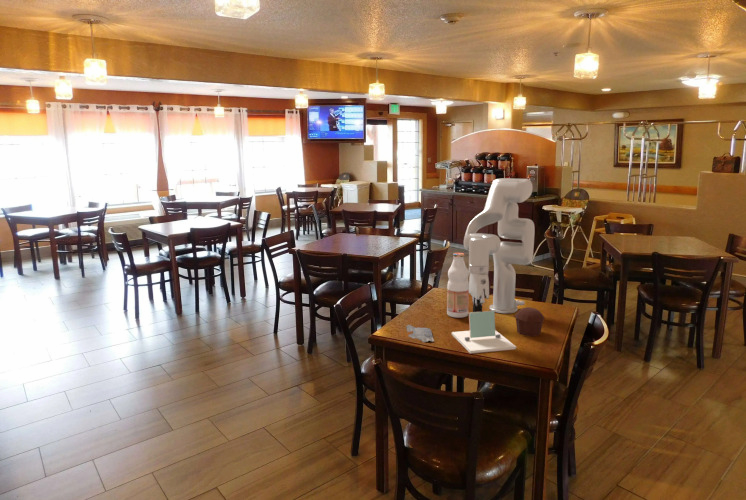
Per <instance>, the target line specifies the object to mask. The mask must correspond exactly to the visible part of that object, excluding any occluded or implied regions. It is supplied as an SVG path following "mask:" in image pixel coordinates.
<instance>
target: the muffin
mask: <svg viewBox="0 0 746 500" xmlns="http://www.w3.org/2000/svg"><path fill="white" fill-rule="evenodd" d="M514 318H515V321H516V322H515V324H516V333H518V334H519V335H522V336H525V337H538V336H540V335H541V332H542V327H543V323H544V321H545V318H546V317H545V316H544V315H543V314H542V312H541V311H540V310H538V309H537V308H534V307H522V308H521V309H518V311H517V312H516V313H515V314H514Z"/></svg>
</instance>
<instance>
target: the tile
mask: <svg viewBox="0 0 746 500" xmlns="http://www.w3.org/2000/svg"><path fill="white" fill-rule="evenodd" d="M495 317H496V314H495V312H494V311H491V310H482V312H473V311H472V312H468V322H469V323H468V325H469V330H468V331H470V338H476V337H487V336H495V330H496V320H495Z"/></svg>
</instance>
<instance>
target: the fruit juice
mask: <svg viewBox="0 0 746 500" xmlns="http://www.w3.org/2000/svg"><path fill="white" fill-rule="evenodd" d="M452 257H453V259H452V262H451V265H450V267H449V269H448V271H447V277H448V281H447V285H446V288H447V290H446V292H447V295H446V313H447V315H448V316H449V317H451V318H456V319H457V318H460V319H461V318H466V317H468V316H469V301H470V300H469V298H470V297H469V296H470V295H469V294H470V293H469V279H468V278H469V276H470V273H469V268H467V266H466V263H465V259H464V258H465V253H464V252H454V253H452Z"/></svg>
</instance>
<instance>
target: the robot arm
mask: <svg viewBox="0 0 746 500" xmlns="http://www.w3.org/2000/svg"><path fill="white" fill-rule="evenodd" d="M532 193H533V182H532V181H531V179H528V178H512V177H510V178H507V177H506V178H505V177H504V178H502V177H501V178H496V179H493V180H492V182H491V185H490V188H489V190H488V194H487V197H486V200H485V201H486V202H485V204H484V208H483V210H482V211H481V212H480V213H478V214H476V215H475V216H474V218H472V220H471V221H470V222H469V223H468V225H467V227H466V230H465V234H464V237H463V248H464V249H465V250H466V251H468V271H469V276H468V278H469V279H468V283H469V294H470V296H471V298H472V312H482V311H483V304H485V302H486V301H485V299H486V300H488V299H489V298H490V281H489V270H490V269H489V268H490V264H489V263H490V260H489V259H490V254H492V258H493V268H494V269H493V293H492V294H493V295H492V296H493V297H492V301H493V302H492V304H490V305H489V311H494V313H498V314H513V313H517V312H518V311H519V309H518V306H524V305H525V304H526V303H525V300H519V299H515V298H516V279H517V278H516V269H515V268H514V266H513V265H522V266H523V265H525V266H528V265H530V264H531V263H532V261H533V257H534V246H535V234H536V233H535V231H536V230H535V223H534V221H533V220H532V219H530V218H525V217H524V218H523V217H522V218H521V217H519V209H520V208H519V204H520V203H524V202H525V201H526V200H528V199H529V198H531V196H532ZM518 203H519V204H518ZM495 223H497V235H496V234H492V233H481V232H478V231H479V230H480V229H482V228H484V227H486V226H489V225H492V224H495ZM500 238H502V239H507V240H508V239H509V240H518V241H519V240H520V241H521V242H513V241H502V240H501V239H500Z"/></svg>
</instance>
